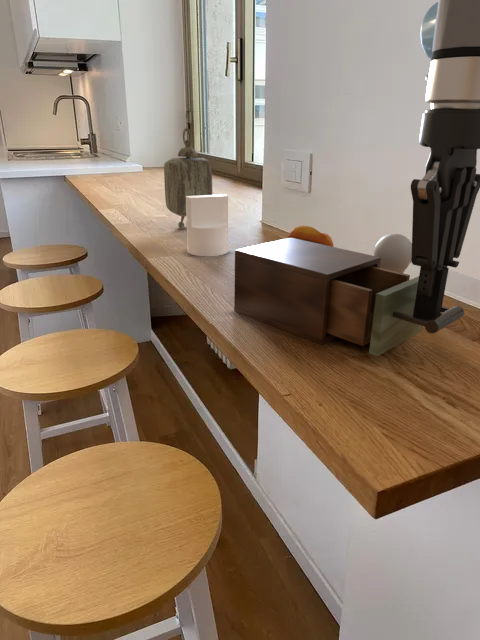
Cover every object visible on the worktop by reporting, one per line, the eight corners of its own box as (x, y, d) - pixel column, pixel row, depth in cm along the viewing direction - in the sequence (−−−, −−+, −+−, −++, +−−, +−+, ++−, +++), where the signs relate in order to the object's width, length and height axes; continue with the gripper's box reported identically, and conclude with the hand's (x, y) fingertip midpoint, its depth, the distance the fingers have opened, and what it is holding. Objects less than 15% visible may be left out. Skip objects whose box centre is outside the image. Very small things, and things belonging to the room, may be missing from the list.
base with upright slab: (218, 244, 115) (218, 192, 111) (234, 253, 108) (235, 197, 103) (181, 248, 112) (180, 194, 107) (195, 258, 104) (194, 200, 100)
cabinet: (373, 320, 73) (381, 257, 69) (321, 344, 65) (327, 274, 61) (287, 293, 84) (290, 237, 80) (234, 311, 76) (234, 249, 72)
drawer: (464, 344, 63) (476, 286, 60) (422, 373, 56) (433, 309, 53) (328, 302, 77) (332, 253, 74) (280, 320, 70) (283, 267, 67)
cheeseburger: (265, 274, 93) (273, 221, 91) (291, 275, 102) (299, 226, 100) (314, 284, 88) (323, 227, 86) (337, 283, 97) (346, 232, 95)
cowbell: (212, 231, 129) (211, 128, 119) (178, 234, 126) (175, 128, 116) (196, 221, 141) (194, 127, 132) (165, 223, 138) (161, 127, 129)
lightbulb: (396, 309, 78) (405, 240, 73) (361, 300, 81) (368, 233, 77) (413, 300, 82) (423, 234, 78) (379, 291, 86) (387, 228, 81)
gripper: (453, 109, 58) (422, 298, 67) (396, 105, 49) (369, 323, 58) (522, 109, 53) (478, 313, 62) (472, 105, 45) (430, 343, 53)
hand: (426, 318), depth 60 cm, fingers closed
